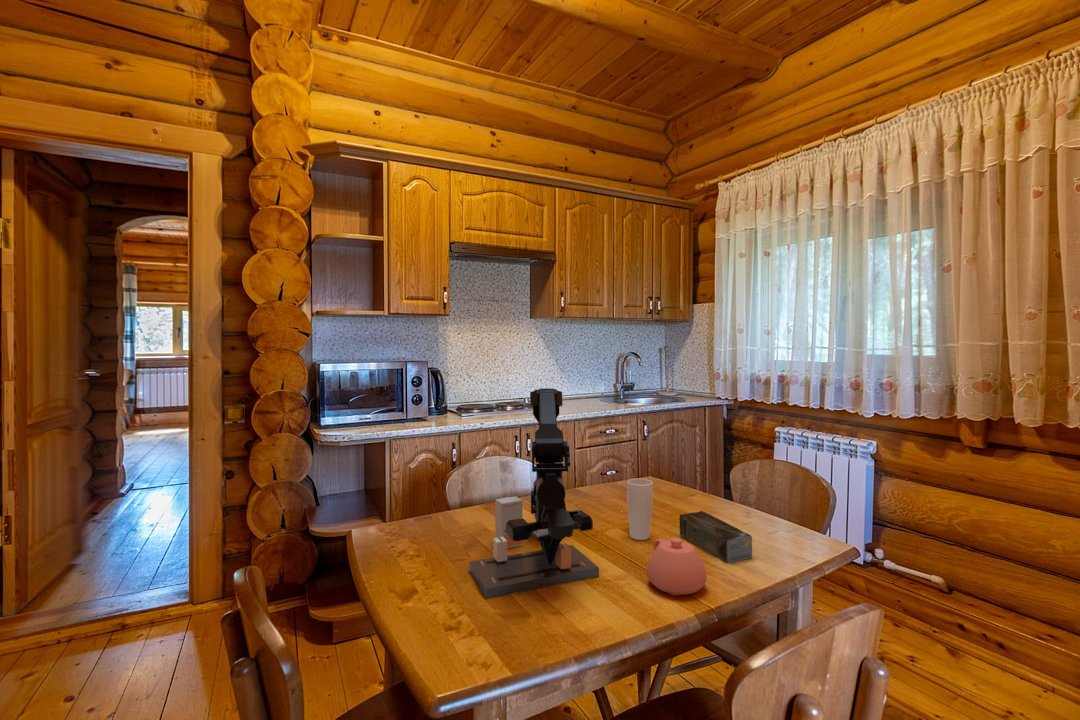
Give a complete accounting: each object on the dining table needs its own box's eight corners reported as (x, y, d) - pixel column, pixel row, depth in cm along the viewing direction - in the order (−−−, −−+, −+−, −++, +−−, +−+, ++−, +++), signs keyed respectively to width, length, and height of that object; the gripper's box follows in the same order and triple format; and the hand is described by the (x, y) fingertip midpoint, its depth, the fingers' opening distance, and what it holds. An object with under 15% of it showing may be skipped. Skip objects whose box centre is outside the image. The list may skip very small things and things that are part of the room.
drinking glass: (652, 543, 135) (652, 485, 135) (626, 541, 137) (626, 484, 136) (652, 533, 142) (652, 478, 142) (627, 531, 143) (627, 477, 143)
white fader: (493, 557, 121) (493, 537, 121) (503, 555, 122) (503, 535, 122) (497, 562, 119) (497, 541, 118) (507, 560, 119) (507, 540, 119)
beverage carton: (726, 565, 122) (726, 537, 122) (677, 536, 140) (677, 512, 140) (753, 559, 125) (753, 532, 125) (702, 532, 143) (702, 508, 143)
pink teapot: (670, 605, 103) (670, 555, 103) (631, 576, 116) (631, 531, 116) (719, 593, 108) (719, 544, 108) (675, 567, 121) (676, 523, 121)
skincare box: (501, 550, 131) (501, 503, 131) (494, 544, 135) (494, 499, 134) (523, 546, 134) (523, 500, 133) (516, 540, 138) (515, 495, 137)
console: (469, 570, 120) (469, 561, 120) (572, 552, 129) (572, 544, 129) (485, 598, 107) (485, 588, 107) (598, 576, 116) (598, 567, 116)
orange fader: (555, 564, 117) (555, 543, 117) (565, 562, 118) (565, 541, 118) (561, 569, 115) (561, 548, 114) (571, 567, 115) (571, 546, 115)
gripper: (521, 509, 104) (522, 586, 104) (604, 498, 111) (604, 571, 111) (504, 494, 114) (505, 564, 115) (581, 485, 121) (581, 551, 122)
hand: (549, 563), depth 115 cm, fingers closed
